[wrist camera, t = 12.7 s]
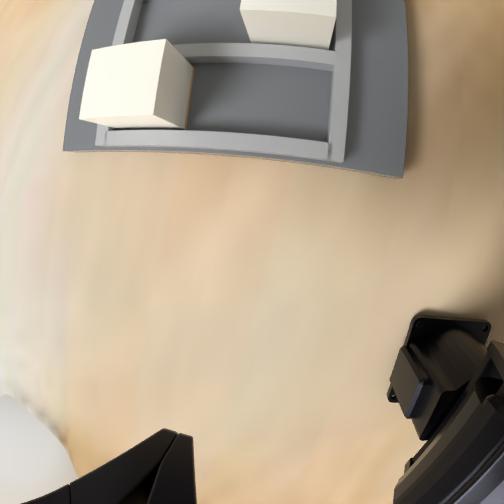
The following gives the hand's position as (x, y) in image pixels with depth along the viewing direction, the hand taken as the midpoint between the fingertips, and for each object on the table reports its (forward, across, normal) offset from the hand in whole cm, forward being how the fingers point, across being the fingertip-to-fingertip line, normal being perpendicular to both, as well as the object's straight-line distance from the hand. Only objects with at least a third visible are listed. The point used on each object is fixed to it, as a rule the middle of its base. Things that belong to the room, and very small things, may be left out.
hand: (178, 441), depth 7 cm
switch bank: (+12, +3, -16) cm, 20 cm away
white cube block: (+10, 0, -16) cm, 19 cm away
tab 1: (+10, +7, -11) cm, 16 cm away
